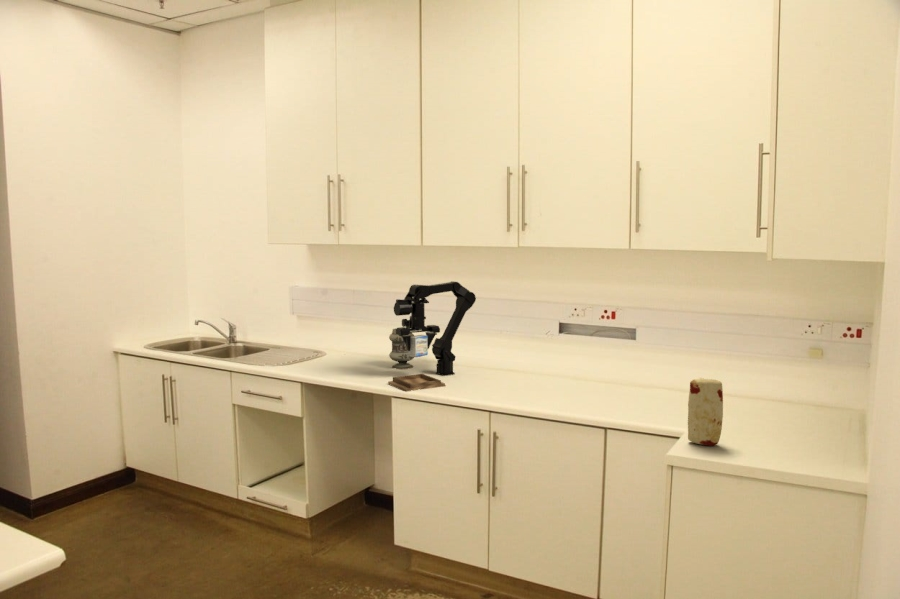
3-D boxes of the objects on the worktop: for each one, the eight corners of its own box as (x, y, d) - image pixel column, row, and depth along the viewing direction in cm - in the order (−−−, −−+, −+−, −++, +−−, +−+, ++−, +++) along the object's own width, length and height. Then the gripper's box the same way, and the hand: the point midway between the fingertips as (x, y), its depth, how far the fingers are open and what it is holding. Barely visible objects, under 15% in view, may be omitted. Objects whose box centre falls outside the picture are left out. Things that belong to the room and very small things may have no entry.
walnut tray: (426, 378, 301) (426, 373, 301) (445, 385, 288) (445, 379, 287) (388, 383, 292) (388, 377, 292) (406, 391, 279) (405, 385, 278)
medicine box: (415, 357, 299) (415, 337, 298) (408, 356, 302) (407, 336, 301) (428, 355, 305) (427, 335, 304) (420, 353, 308) (420, 334, 307)
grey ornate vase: (403, 363, 336) (402, 326, 334) (420, 366, 327) (420, 328, 326) (384, 367, 327) (383, 329, 325) (401, 370, 319) (400, 331, 317)
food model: (685, 445, 208) (687, 378, 206) (688, 439, 214) (690, 374, 212) (720, 449, 204) (723, 381, 202) (723, 443, 210) (725, 377, 208)
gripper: (428, 310, 313) (428, 345, 315) (390, 313, 304) (390, 349, 306) (440, 313, 303) (440, 349, 305) (401, 316, 294) (401, 353, 296)
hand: (418, 350), depth 303 cm, fingers closed on medicine box, 9 cm apart
